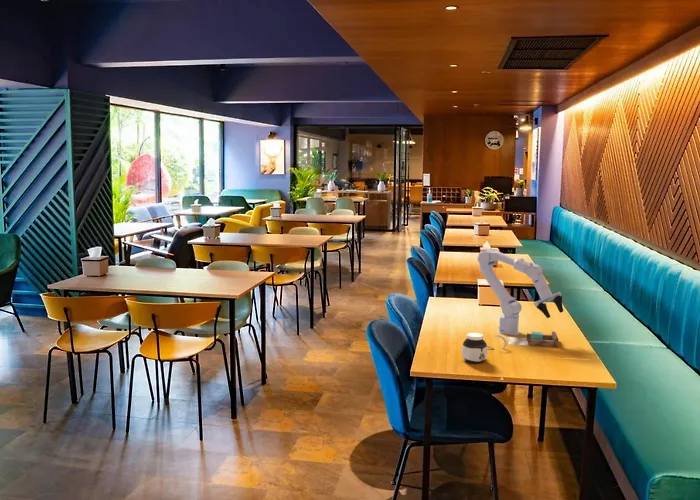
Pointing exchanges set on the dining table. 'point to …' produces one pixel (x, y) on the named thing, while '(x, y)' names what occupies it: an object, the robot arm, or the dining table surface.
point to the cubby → (535, 340)
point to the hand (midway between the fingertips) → (555, 314)
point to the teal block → (537, 335)
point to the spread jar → (474, 348)
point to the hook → (500, 337)
